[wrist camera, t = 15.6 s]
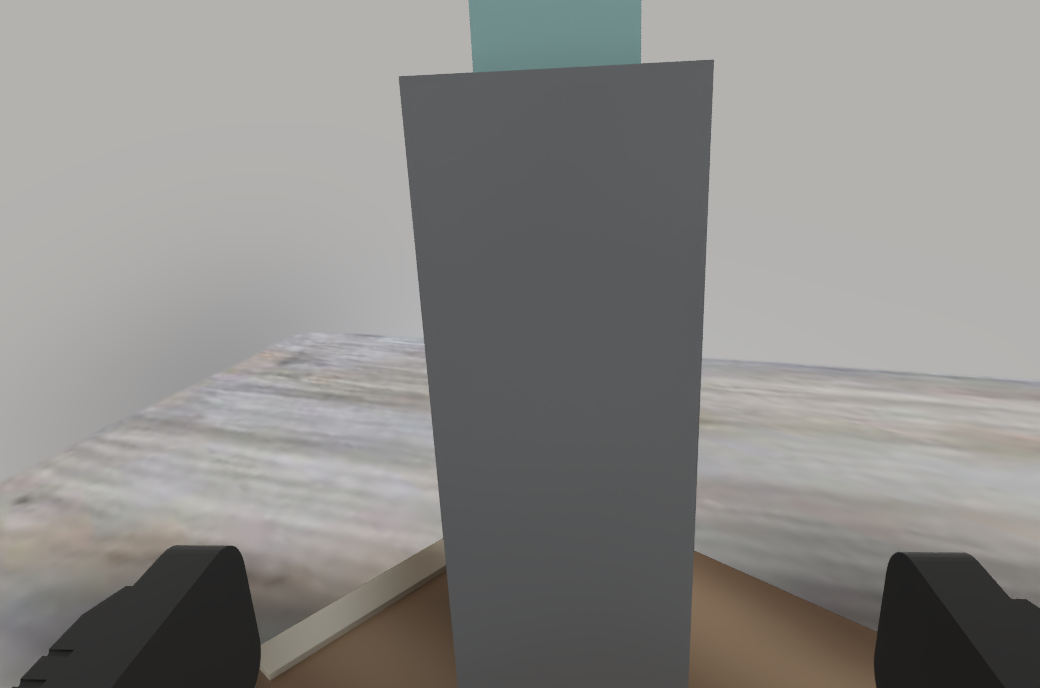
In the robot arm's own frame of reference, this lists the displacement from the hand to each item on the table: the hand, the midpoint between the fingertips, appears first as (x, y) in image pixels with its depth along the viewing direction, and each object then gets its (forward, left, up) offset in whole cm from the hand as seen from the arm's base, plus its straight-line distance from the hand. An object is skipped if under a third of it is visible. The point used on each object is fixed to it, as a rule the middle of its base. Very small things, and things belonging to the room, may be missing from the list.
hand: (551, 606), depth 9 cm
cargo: (-6, -5, +5) cm, 9 cm away
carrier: (-6, -5, -8) cm, 11 cm away
